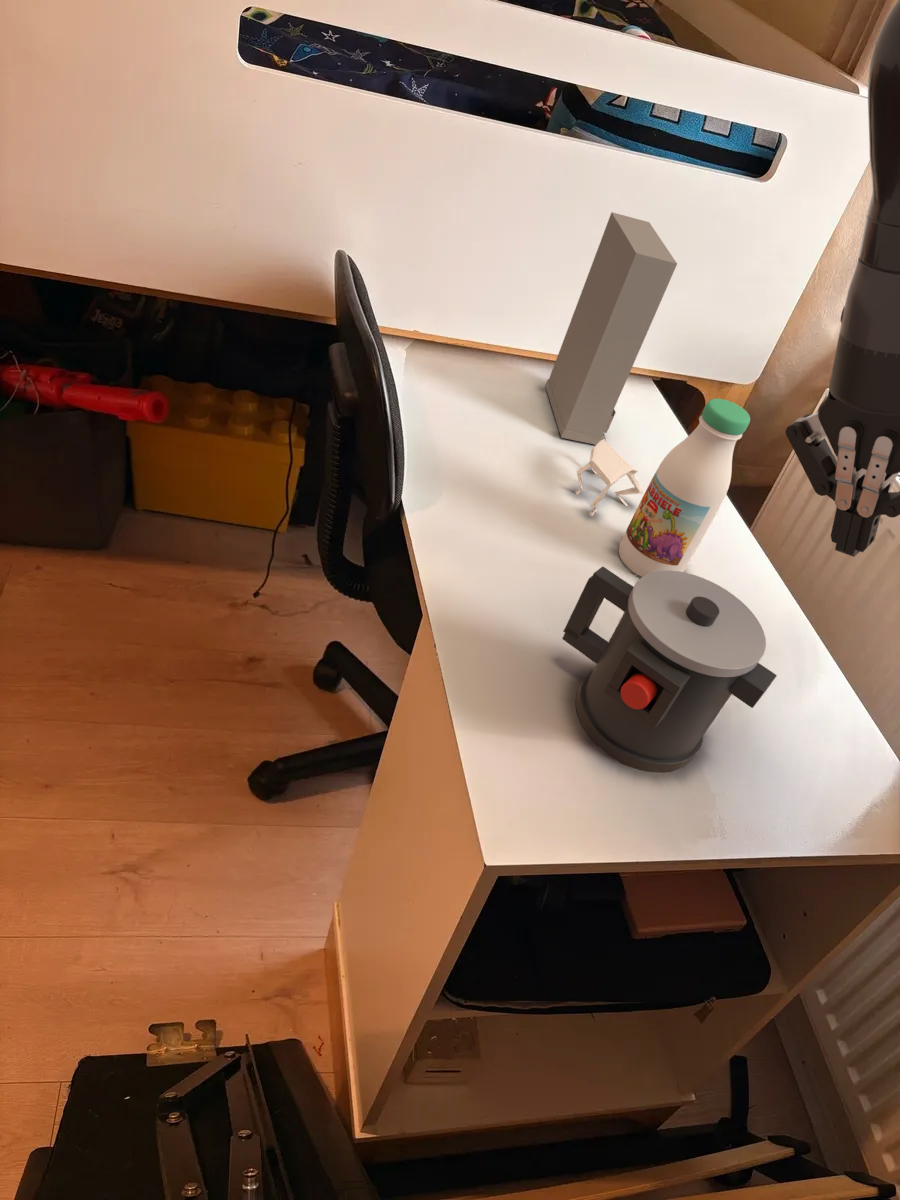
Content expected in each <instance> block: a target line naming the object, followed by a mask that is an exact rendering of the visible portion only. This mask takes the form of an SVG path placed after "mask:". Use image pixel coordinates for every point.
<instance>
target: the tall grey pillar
mask: <svg viewBox="0 0 900 1200" xmlns="http://www.w3.org/2000/svg"><path fill="white" fill-rule="evenodd" d="M591 263H592V264H591V266H590V269H589V271H588V273H587V276H586V279H585V282H584V285H583V287H582V290H581V292H580V294H579V298H578V300H577V303H576V306H575V309H574V312H573V314H572V316H571V320H570V322H569V324H568V328H567V330H566V332H565V335H564V338H563V341H562V342H561V345H560V348H559V352H558V354H557V357H556V360H555V362H554V364H553V367H552V371H551V373H550V375H549V378H547V381H546V382H545V383H546V384H545V385H544V387H545V390H546V393H547V396H548V399H549V403H550V406H551V408H552V412H553V416H554V418H555V422H556V425H557V429H558V431H559V434H560V438H562V439H566V440H572V441H576V442H581V443H586V444H591V445H594V446H595V445H596V444H597V443H598V442H599V441H601V440H602V439H605V441H606V440H607V438H606V436H605V434H607V433H608V431H609V429H610V426H611V424H612V422H613V419H614V418H615V416H616V413H617V412H616V410H615V407H616V405H617V403H618V401H619V398H620V396H621V394H622V392H623V389H624V387H625V384H626V382H627V380H628V379H629V375H630V373H631V371H632V368H633V366H634V364H635V361H636V359H637V357H638V355H639V352H640V350H641V348H642V345H643V344H644V341H645V339H646V336H647V334H648V332H649V330H650V328H651V325H652V323H653V321H654V319H655V316H656V314H657V311H658V309H659V306H660V305H661V302H662V300H663V298H664V296H665V293H666V291H667V289H668V286H669V284H670V282H671V279H672V277H673V276H674V275H673V274H674V272H675V270H676V268H677V265H678V263H677V260H675V258H674V256H673V255H672V253H670V251H669V249H668V248H667V246H666V245H665V243H664V241H663V240H662V239H661V237H660V236H659V234H658V233H657V231H656V230H655V228H654V227H653V225H652V224H651V223H650V221H646V220H643V219H639V218H635V217H631V216H629V215H625V214H620V213H616V212H613V211H611V213H610V214H609V217H608V220H607V223H606V226H605V229H604V231H603V233H602V237H601V239H600V242H599V245H598V248H597V250H596V252H595V255H594V258H593V261H592V262H591Z"/></svg>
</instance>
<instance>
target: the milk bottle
mask: <svg viewBox="0 0 900 1200" xmlns="http://www.w3.org/2000/svg"><path fill="white" fill-rule="evenodd" d="M698 421H699V423H698V424H697V426H696V427H695V429H694V430H693V431H692V432H691V433H690V434H688V436H686V438H684V440H682V441H681V442H679V443H678V444H676V445H675V446H674V447H673V448H672V449H671V450H670V451H669V452H668V453H667V454H666V455H665V456H664V458H663V459H662V460H661V463H660V464H659V465H658V467H657V469H656V471H655V472H654V474H653V476H652V478H651V480H650V482H649V484H648V486H647V488H646V490H645V492H644V493H643V496H642V498H641V499H640V502H639V504H638V506H637V508H636V509H635V512H634V514H633V516H632V518H631V520H630V521H629V524H628V526H627V527H626V530H625V532H624V534H623V536H622V538H621V540H620V543H619V545H618V553H619V558H620V560H621V561H622V563H623V564H624V565H625V566H626V567H627V569H629V570H630V571H631V572H633V573H634V574H636V575H638V576H639V577H640V578H641V577H643V576H644V575H646V574H649V573H651V572H655V571H663V570H671V571H680V572H685V570H686V568H687V567H688V565H689V563H690V562H691V560H692V558H693V556H694V555H695V553H696V551H697V550H698V547H699V546H700V544H701V542H702V541H703V539H704V537H705V535H706V533H707V532H708V529H710V526H711V525H712V524H713V523H712V522H713V521H714V519H715V517H716V515H717V513H718V512H719V510H720V508H721V506H722V504H723V502H724V500H725V499H726V496H727V493H728V490H729V488H730V485H731V479H732V472H733V471H732V469H733V455H734V450H735V448H736V447H735V446H736V444H737V441H738V440H740V439H742V438H743V435H744V433H745V432H746V430H747V429H748V427H749V425H750V422H751V415H750V414H749V413H748V411H747V410H746V409H745V408H743V407H742V406H740V405H739V404H737V403H735V402H732V401H730V400H727V399H723V398H711V399H709V400H708V401H707V402H706V404H705V406H704V408H703V409H702V412H701V415H700V416H699V417H698Z"/></svg>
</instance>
